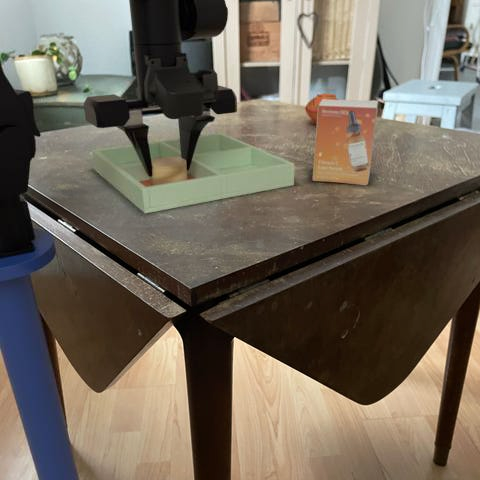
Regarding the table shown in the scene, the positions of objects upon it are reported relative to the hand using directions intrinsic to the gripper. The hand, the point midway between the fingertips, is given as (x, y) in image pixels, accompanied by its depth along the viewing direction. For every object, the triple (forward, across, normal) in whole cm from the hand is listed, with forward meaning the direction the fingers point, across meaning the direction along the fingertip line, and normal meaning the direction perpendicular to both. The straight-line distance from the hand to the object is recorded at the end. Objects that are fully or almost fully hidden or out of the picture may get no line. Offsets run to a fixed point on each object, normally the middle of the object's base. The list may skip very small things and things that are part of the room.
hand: (168, 172), depth 73 cm
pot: (+3, +43, +23) cm, 49 cm away
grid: (+3, +5, +5) cm, 8 cm away
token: (+2, 0, 0) cm, 2 cm away
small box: (+3, +24, -7) cm, 25 cm away
